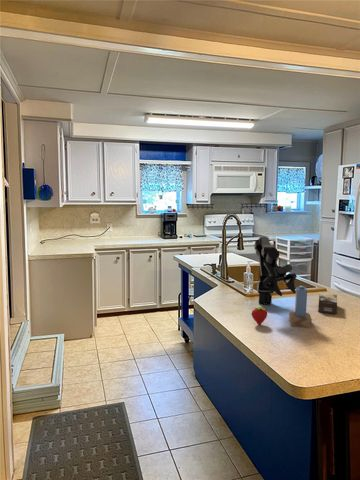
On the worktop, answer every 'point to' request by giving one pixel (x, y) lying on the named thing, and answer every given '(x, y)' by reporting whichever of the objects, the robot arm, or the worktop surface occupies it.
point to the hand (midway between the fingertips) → (288, 294)
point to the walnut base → (300, 320)
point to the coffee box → (327, 303)
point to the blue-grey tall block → (301, 301)
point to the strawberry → (259, 315)
